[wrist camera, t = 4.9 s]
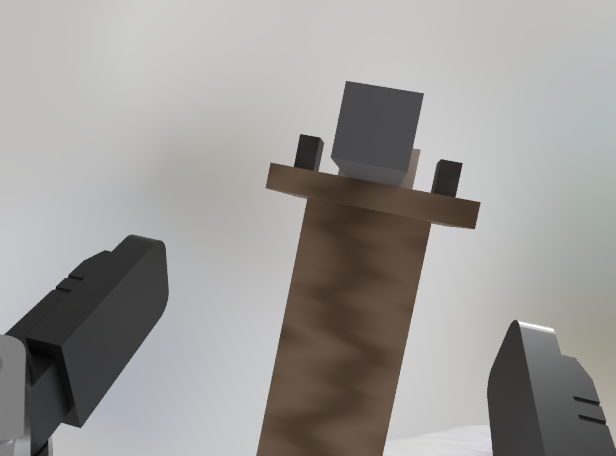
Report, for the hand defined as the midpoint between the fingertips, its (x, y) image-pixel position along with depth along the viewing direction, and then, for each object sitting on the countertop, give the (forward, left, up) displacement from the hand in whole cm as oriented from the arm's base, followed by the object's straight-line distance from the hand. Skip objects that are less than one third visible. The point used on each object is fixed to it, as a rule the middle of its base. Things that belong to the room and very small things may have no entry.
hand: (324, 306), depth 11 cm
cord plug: (0, +18, +4) cm, 18 cm away
